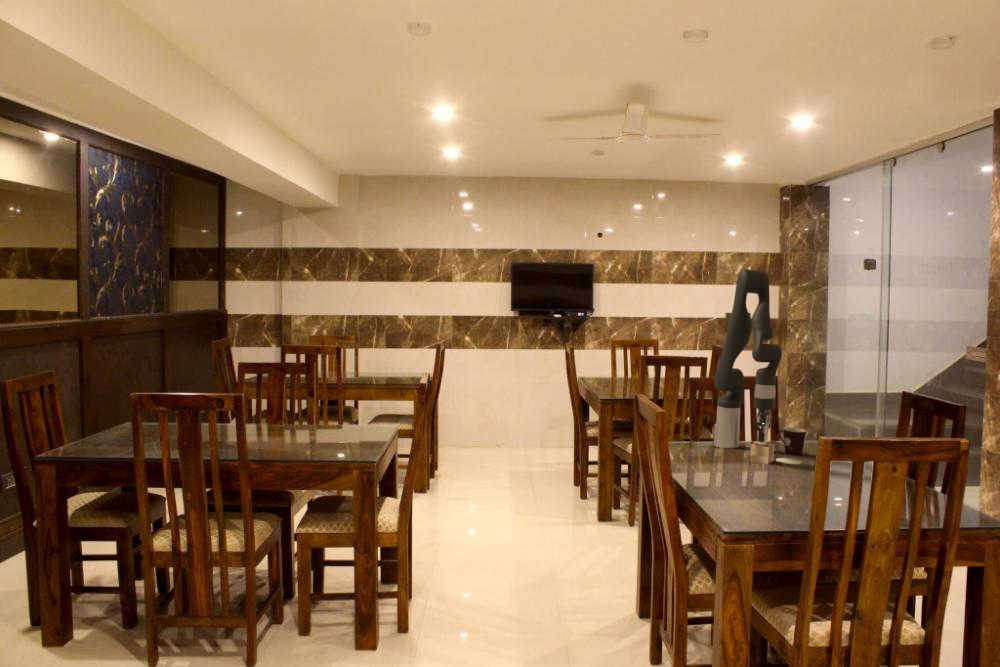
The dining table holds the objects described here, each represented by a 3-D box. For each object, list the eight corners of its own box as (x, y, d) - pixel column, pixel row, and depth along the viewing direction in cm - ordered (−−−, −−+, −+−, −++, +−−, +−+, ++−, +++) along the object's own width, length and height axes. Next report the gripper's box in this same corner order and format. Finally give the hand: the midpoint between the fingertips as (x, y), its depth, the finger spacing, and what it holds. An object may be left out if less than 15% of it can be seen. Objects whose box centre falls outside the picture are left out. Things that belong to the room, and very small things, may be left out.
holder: (749, 463, 274) (750, 445, 274) (755, 460, 279) (756, 442, 279) (767, 466, 270) (768, 447, 270) (773, 462, 275) (773, 445, 275)
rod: (756, 460, 275) (758, 424, 274) (758, 459, 277) (760, 423, 276) (764, 462, 273) (766, 425, 272) (766, 460, 275) (768, 424, 274)
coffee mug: (808, 457, 287) (809, 432, 286) (786, 456, 287) (787, 431, 286) (796, 450, 298) (798, 426, 298) (776, 449, 298) (777, 426, 298)
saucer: (772, 463, 275) (773, 460, 275) (780, 459, 282) (780, 456, 282) (797, 467, 269) (797, 464, 269) (804, 463, 276) (804, 460, 276)
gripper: (760, 393, 281) (758, 436, 282) (748, 397, 270) (746, 442, 271) (780, 395, 276) (778, 439, 278) (768, 399, 265) (766, 445, 266)
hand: (762, 440), depth 274 cm, fingers closed on rod, 3 cm apart
